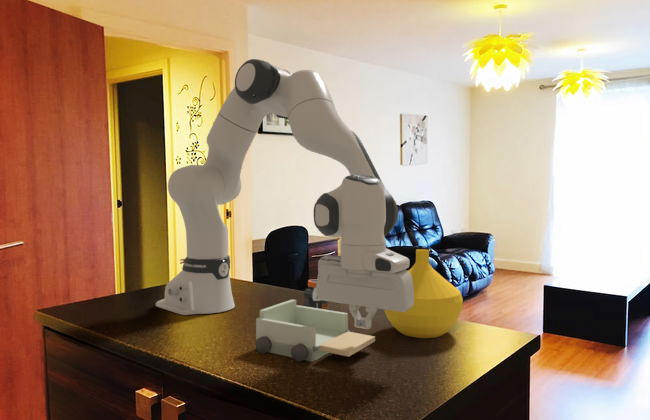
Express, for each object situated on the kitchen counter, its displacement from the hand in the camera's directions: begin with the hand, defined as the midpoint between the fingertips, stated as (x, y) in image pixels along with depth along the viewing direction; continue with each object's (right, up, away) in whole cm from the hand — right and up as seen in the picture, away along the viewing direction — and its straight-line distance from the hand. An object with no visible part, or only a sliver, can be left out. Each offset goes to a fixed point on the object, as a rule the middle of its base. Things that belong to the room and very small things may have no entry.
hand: (362, 327), depth 104 cm
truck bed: (-12, -6, +8) cm, 16 cm away
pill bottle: (-10, -5, +22) cm, 25 cm away
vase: (+15, -5, +18) cm, 24 cm away
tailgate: (-6, -4, +4) cm, 8 cm away
